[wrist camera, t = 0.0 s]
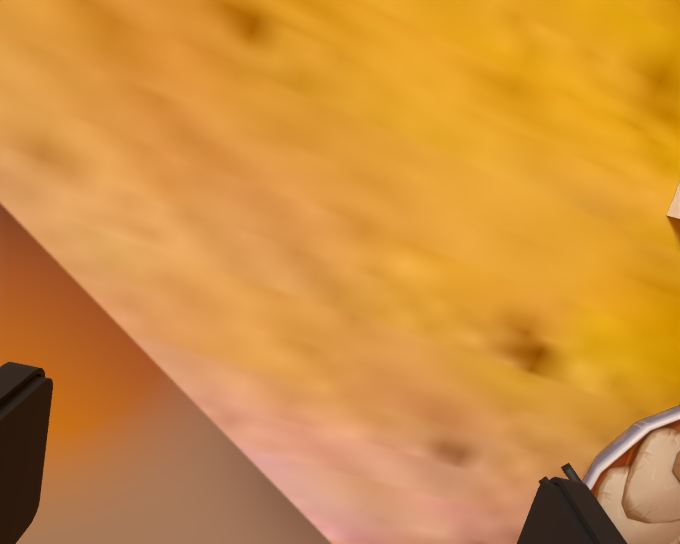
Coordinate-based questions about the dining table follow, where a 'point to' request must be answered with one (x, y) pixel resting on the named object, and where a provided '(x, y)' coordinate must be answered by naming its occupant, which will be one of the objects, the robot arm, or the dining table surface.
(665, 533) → the ramen bowl
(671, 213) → the socket panel
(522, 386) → the dining table surface
